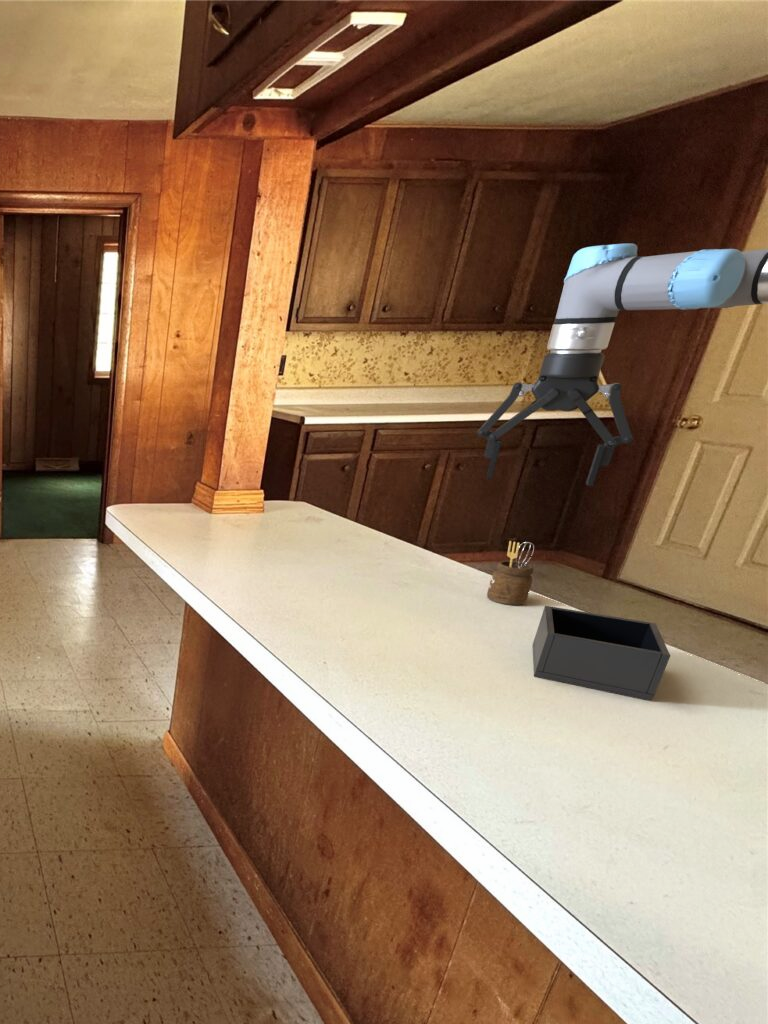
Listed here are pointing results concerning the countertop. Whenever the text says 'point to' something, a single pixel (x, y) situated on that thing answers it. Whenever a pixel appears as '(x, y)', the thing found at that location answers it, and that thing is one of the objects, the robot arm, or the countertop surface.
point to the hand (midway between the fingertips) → (537, 480)
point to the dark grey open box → (600, 652)
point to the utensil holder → (511, 579)
